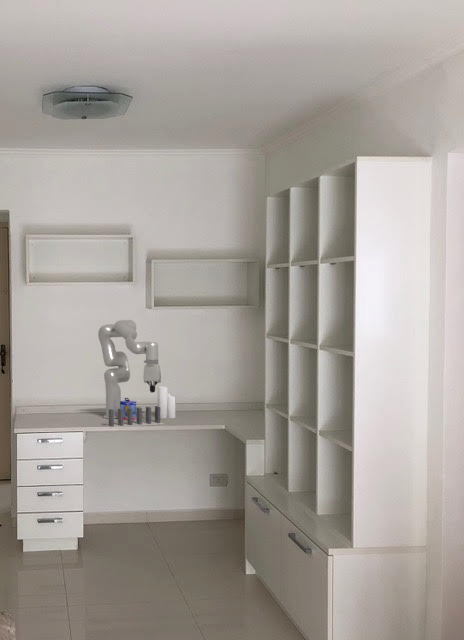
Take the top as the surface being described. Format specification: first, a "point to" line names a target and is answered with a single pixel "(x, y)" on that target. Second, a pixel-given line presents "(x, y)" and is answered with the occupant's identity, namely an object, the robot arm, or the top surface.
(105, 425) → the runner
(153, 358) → the robot arm
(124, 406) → the ink cartridge box
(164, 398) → the white tube cluster
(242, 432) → the top surface
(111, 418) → the domino
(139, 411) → the domino
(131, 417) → the domino
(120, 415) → the domino
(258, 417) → the top surface
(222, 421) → the top surface
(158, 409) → the domino
